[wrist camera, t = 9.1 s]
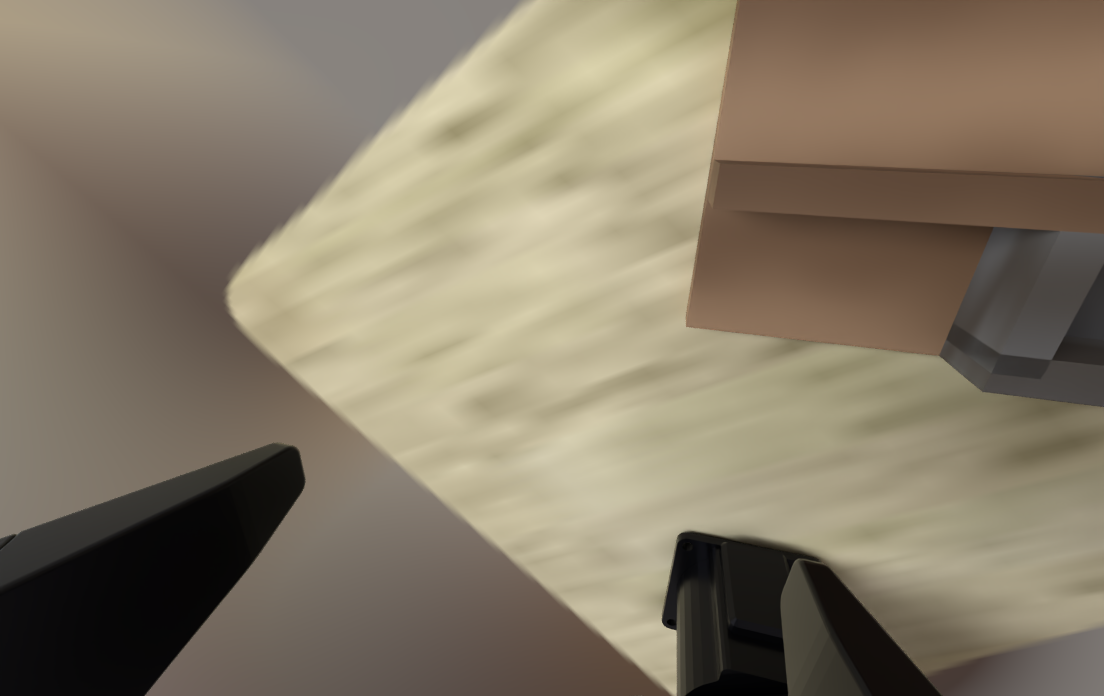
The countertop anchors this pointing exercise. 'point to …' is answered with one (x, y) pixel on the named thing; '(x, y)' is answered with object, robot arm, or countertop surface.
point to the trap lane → (915, 186)
